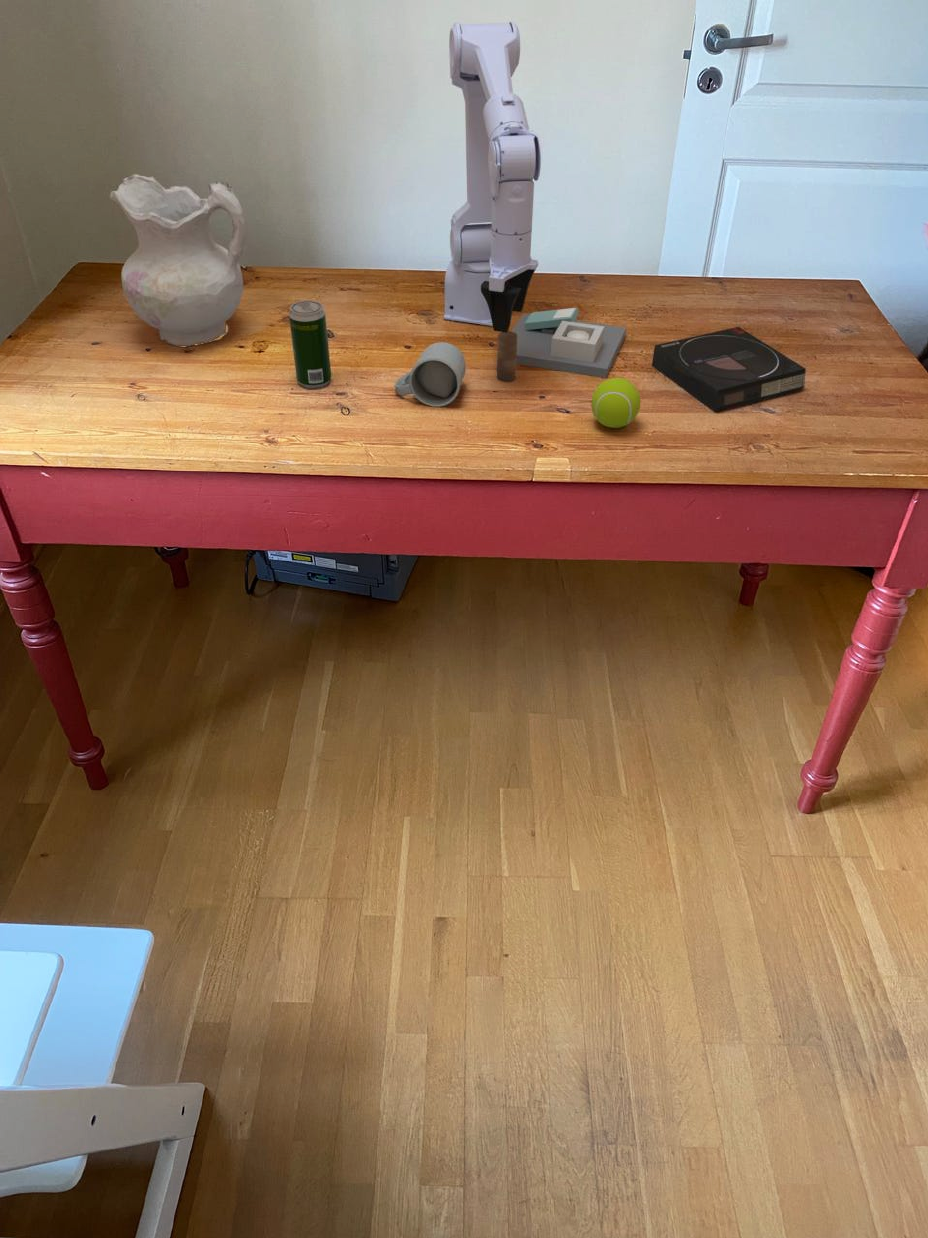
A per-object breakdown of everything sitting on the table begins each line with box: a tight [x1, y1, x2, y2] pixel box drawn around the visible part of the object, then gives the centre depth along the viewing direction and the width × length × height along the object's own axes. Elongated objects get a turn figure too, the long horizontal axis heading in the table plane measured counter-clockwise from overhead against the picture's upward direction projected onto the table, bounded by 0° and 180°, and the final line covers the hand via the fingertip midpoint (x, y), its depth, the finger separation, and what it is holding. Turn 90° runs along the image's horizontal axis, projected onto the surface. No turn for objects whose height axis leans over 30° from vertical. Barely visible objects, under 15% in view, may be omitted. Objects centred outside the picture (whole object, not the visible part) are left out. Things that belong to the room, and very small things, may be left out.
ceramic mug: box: [394, 341, 467, 408], centre depth 141 cm, size 11×8×8 cm
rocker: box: [525, 307, 579, 330], centre depth 157 cm, size 8×4×1 cm, turn 72°
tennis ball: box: [590, 377, 642, 429], centre depth 135 cm, size 7×7×7 cm
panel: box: [510, 312, 627, 379], centre depth 154 cm, size 18×16×4 cm
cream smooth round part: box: [567, 330, 589, 340], centre depth 151 cm, size 4×4×2 cm
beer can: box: [288, 300, 332, 390], centre depth 142 cm, size 5×5×12 cm
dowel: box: [495, 330, 517, 383], centre depth 145 cm, size 3×3×7 cm
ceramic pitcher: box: [109, 173, 247, 347], centre depth 152 cm, size 22×20×25 cm
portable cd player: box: [651, 326, 807, 413], centre depth 147 cm, size 16×17×4 cm
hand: (508, 320), depth 142 cm, fingers open, 7 cm apart
